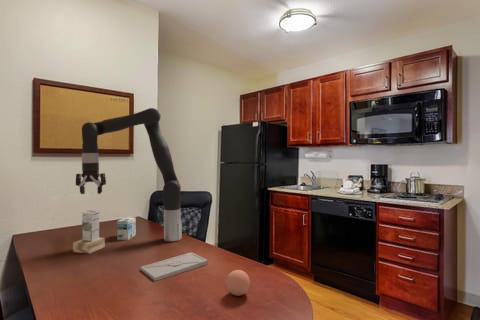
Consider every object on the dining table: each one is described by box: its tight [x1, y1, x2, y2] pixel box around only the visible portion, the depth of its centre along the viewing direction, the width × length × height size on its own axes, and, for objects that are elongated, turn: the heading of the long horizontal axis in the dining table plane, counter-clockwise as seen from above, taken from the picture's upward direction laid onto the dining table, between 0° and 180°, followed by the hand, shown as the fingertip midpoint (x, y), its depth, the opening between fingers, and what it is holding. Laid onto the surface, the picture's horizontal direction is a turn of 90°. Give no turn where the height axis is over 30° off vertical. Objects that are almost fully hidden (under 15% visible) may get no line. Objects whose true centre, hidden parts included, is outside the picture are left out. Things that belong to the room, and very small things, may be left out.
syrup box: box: [81, 209, 100, 241], centre depth 138 cm, size 6×6×14 cm
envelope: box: [140, 251, 209, 282], centre depth 115 cm, size 24×2×14 cm
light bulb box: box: [116, 216, 137, 241], centre depth 158 cm, size 11×7×11 cm, turn 179°
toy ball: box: [225, 269, 251, 297], centre depth 91 cm, size 8×8×8 cm
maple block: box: [72, 237, 106, 254], centre depth 138 cm, size 10×10×5 cm
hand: (91, 193), depth 138 cm, fingers open, 8 cm apart
